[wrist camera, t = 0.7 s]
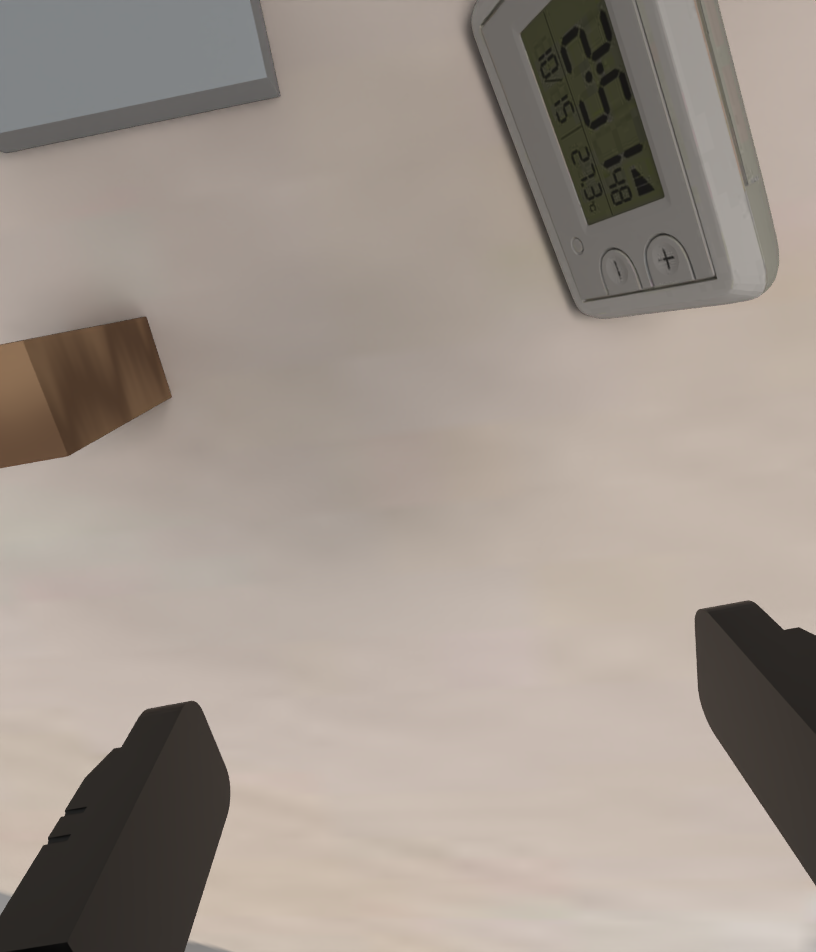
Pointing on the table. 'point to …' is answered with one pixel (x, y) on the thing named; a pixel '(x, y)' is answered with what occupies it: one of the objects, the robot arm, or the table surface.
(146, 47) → the grey board
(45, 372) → the walnut block
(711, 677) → the robot arm
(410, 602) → the table surface
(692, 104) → the digital clock
